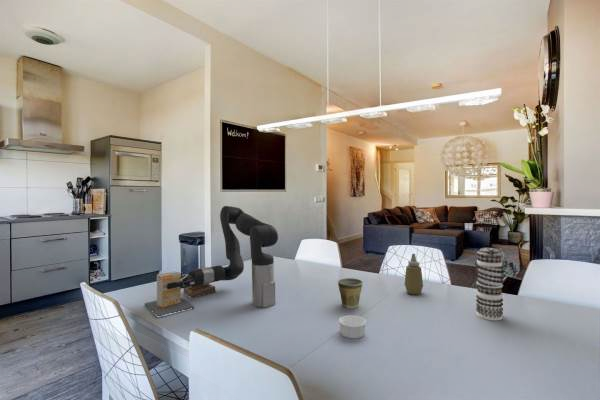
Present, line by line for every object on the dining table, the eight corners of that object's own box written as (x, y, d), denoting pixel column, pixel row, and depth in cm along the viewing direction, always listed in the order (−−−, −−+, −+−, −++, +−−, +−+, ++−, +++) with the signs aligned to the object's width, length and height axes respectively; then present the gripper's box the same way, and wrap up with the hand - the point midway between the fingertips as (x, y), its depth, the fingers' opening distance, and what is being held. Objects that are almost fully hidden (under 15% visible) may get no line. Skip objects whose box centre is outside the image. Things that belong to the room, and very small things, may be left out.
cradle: (215, 292, 145) (215, 286, 145) (190, 297, 138) (190, 292, 137) (207, 287, 152) (207, 282, 152) (183, 293, 144) (183, 288, 144)
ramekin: (347, 325, 107) (347, 313, 107) (370, 332, 102) (370, 319, 101) (333, 334, 100) (333, 321, 100) (357, 342, 95) (357, 328, 95)
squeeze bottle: (420, 290, 143) (420, 252, 143) (425, 295, 135) (425, 255, 135) (402, 289, 144) (402, 252, 144) (406, 295, 136) (406, 255, 136)
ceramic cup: (362, 310, 120) (362, 285, 119) (337, 309, 122) (337, 284, 121) (362, 299, 132) (362, 276, 132) (339, 298, 134) (339, 275, 134)
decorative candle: (490, 322, 108) (490, 252, 107) (469, 312, 116) (469, 247, 116) (510, 319, 110) (510, 250, 109) (488, 309, 119) (488, 246, 118)
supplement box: (162, 308, 122) (161, 276, 122) (156, 306, 125) (155, 274, 125) (181, 303, 128) (180, 272, 128) (176, 300, 132) (175, 270, 131)
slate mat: (194, 308, 125) (194, 306, 125) (157, 318, 115) (157, 315, 115) (178, 297, 138) (178, 295, 138) (144, 305, 129) (144, 303, 129)
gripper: (194, 265, 141) (157, 272, 130) (208, 271, 130) (169, 278, 120) (195, 281, 141) (158, 289, 131) (208, 288, 131) (169, 297, 120)
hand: (163, 284), depth 125 cm, fingers open, 8 cm apart
